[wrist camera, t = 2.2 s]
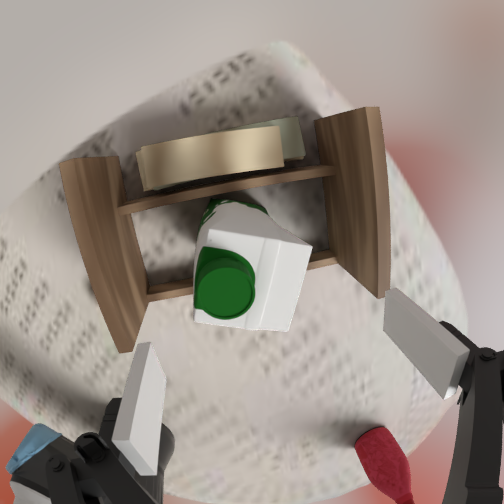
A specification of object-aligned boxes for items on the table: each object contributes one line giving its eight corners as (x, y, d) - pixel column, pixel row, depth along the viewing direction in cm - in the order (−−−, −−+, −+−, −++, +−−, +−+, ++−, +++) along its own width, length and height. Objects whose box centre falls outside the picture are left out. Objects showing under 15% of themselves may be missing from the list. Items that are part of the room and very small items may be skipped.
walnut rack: (142, 294, 40) (119, 353, 27) (107, 159, 34) (58, 163, 21) (339, 254, 43) (389, 295, 30) (324, 119, 37) (379, 106, 23)
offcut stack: (147, 191, 37) (137, 198, 31) (138, 149, 35) (126, 148, 29) (299, 160, 38) (315, 161, 33) (292, 119, 36) (306, 113, 31)
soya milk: (204, 189, 37) (201, 225, 19) (274, 202, 39) (334, 248, 20) (193, 255, 40) (184, 343, 21) (259, 265, 42) (301, 354, 23)
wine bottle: (351, 435, 58) (401, 535, 30) (389, 419, 59) (446, 510, 30) (353, 453, 61) (395, 543, 33) (387, 438, 62) (435, 522, 34)
